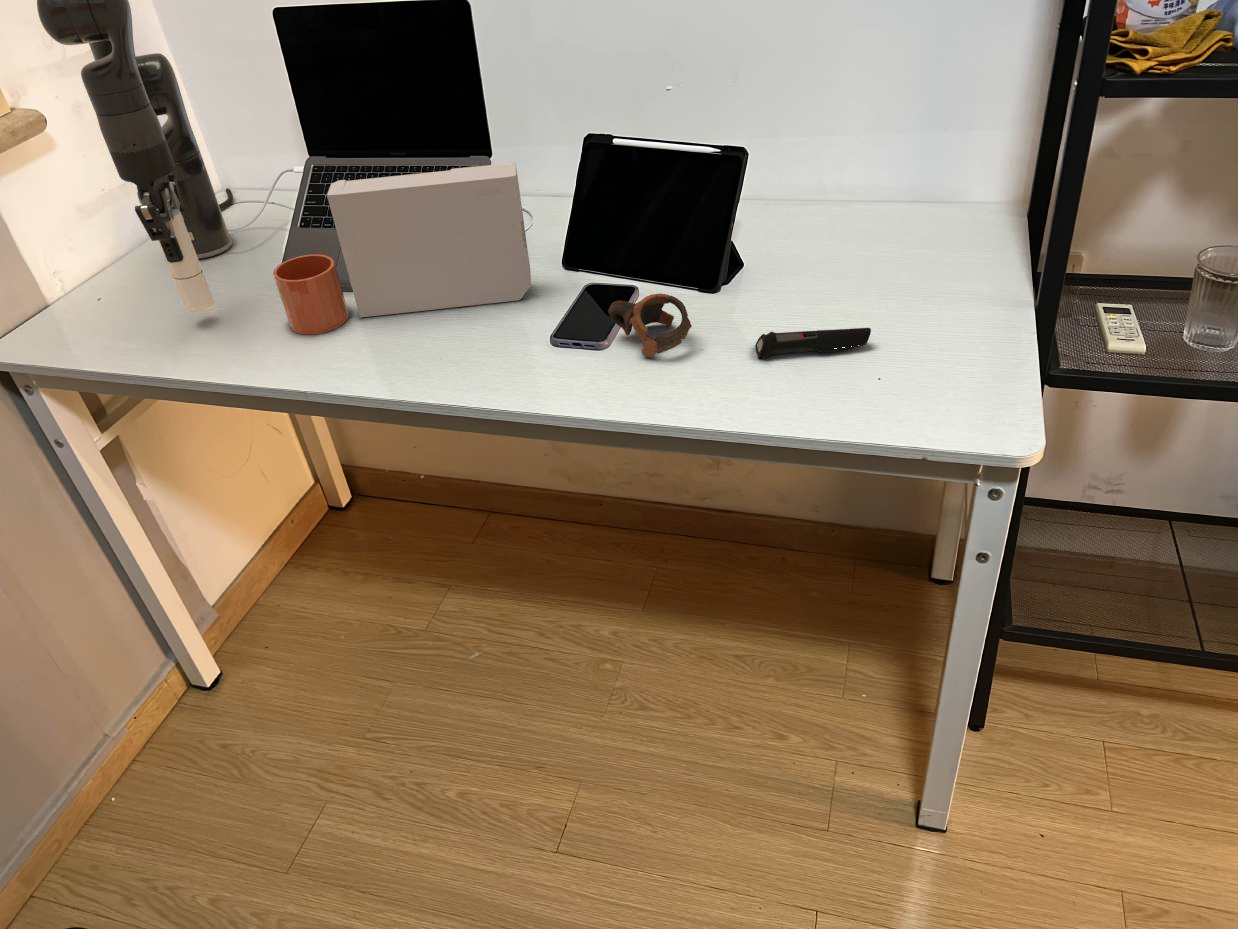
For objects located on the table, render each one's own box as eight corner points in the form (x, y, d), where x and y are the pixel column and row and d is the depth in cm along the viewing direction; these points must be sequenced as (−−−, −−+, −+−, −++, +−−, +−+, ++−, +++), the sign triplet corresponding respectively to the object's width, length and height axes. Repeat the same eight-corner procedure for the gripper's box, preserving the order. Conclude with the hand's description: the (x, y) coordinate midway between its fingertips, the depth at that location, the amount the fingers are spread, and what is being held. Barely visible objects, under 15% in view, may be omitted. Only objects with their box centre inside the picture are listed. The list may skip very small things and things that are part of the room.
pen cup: (294, 310, 147) (277, 258, 142) (350, 303, 148) (336, 251, 143) (286, 338, 140) (269, 284, 135) (346, 330, 141) (331, 276, 136)
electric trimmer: (871, 354, 126) (874, 334, 124) (758, 361, 126) (759, 341, 124) (865, 340, 129) (867, 320, 127) (754, 347, 129) (755, 327, 127)
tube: (204, 312, 142) (169, 220, 133) (180, 311, 143) (143, 220, 134) (219, 299, 145) (185, 208, 136) (195, 297, 146) (160, 208, 137)
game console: (363, 301, 148) (331, 180, 136) (532, 282, 149) (515, 161, 137) (359, 318, 144) (325, 195, 132) (533, 299, 145) (516, 175, 133)
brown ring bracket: (691, 325, 136) (700, 295, 128) (676, 380, 132) (684, 352, 125) (613, 304, 136) (617, 272, 129) (596, 357, 133) (599, 328, 125)
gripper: (151, 155, 123) (195, 272, 134) (175, 120, 134) (214, 231, 145) (93, 161, 122) (142, 278, 133) (121, 126, 133) (165, 237, 144)
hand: (179, 253), depth 139 cm, fingers closed on tube, 4 cm apart
